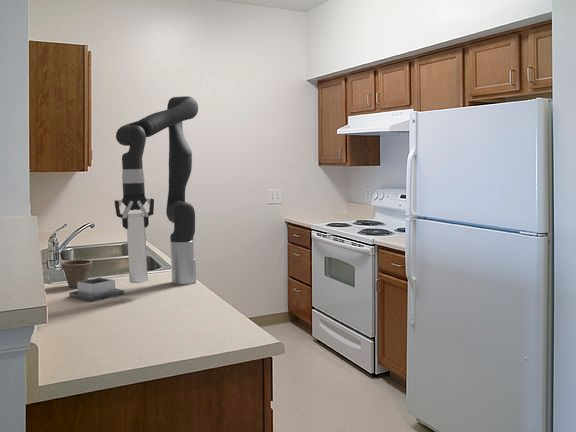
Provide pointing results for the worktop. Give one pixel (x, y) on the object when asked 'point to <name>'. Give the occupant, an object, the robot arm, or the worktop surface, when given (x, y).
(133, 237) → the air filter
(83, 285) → the duct collar
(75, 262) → the flower pot
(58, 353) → the worktop surface
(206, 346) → the worktop surface
